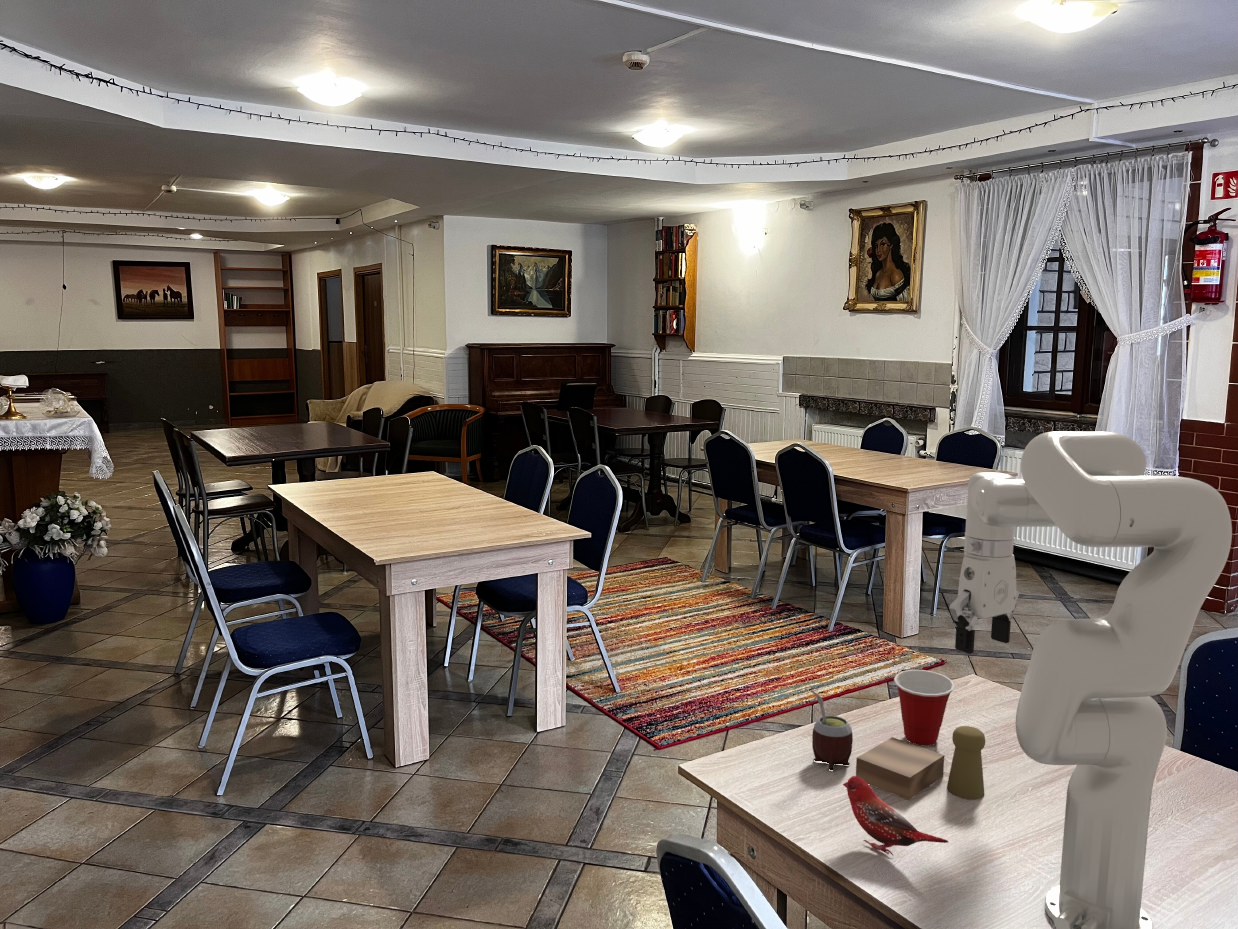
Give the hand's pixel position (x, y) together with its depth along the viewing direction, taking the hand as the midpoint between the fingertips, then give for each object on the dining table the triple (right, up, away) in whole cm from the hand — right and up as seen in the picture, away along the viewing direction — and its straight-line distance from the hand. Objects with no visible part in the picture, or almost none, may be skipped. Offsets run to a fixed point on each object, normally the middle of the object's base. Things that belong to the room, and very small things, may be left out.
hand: (982, 646), depth 156 cm
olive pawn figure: (-3, -25, 0) cm, 25 cm away
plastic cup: (-4, -22, +20) cm, 30 cm away
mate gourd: (-24, -23, +10) cm, 35 cm away
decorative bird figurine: (-21, -27, -20) cm, 40 cm away
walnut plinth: (-13, -24, +5) cm, 27 cm away
